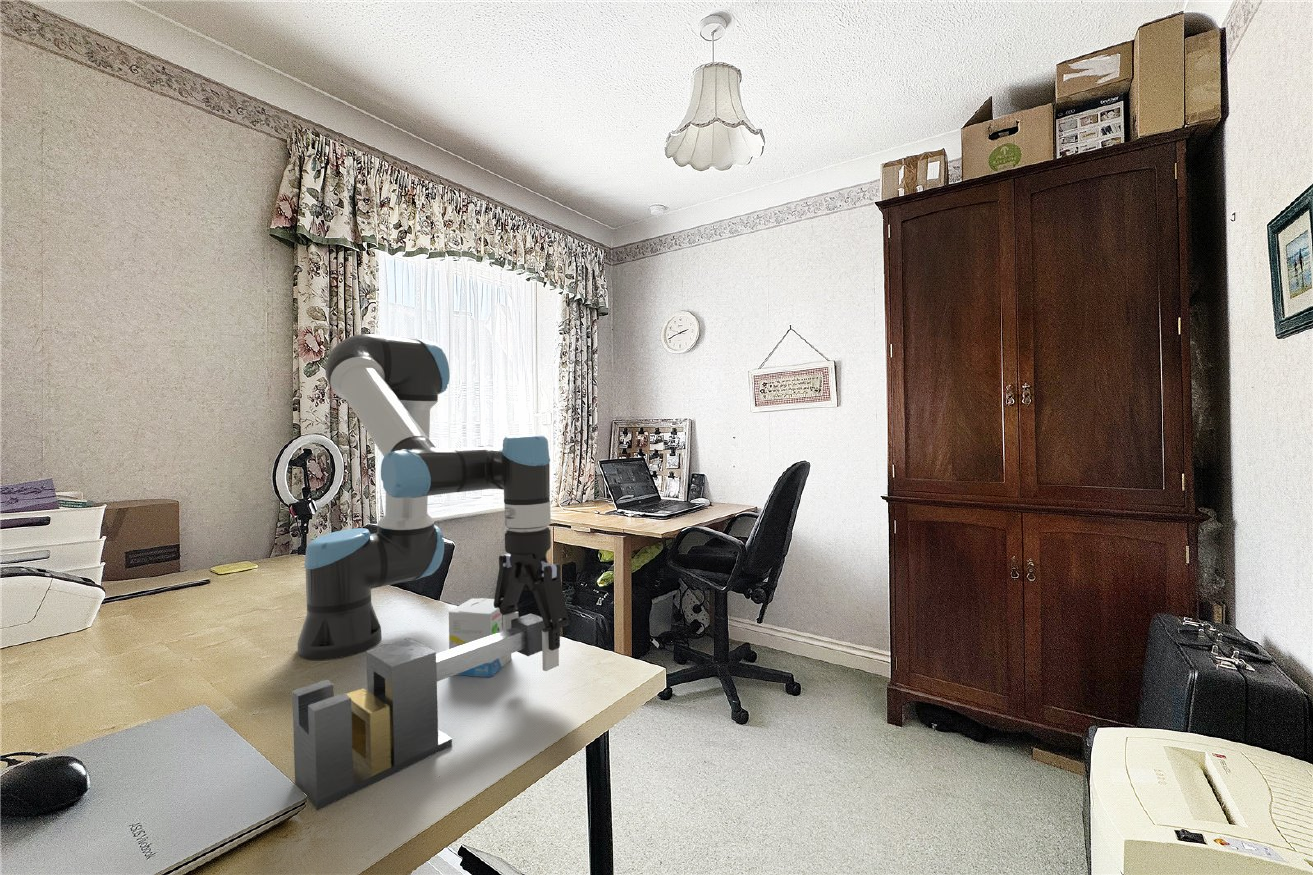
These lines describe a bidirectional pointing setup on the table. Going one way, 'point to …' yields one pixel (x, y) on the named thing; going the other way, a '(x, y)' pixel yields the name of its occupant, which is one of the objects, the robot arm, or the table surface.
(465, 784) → the table surface
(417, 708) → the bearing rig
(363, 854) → the table surface
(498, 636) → the shaft
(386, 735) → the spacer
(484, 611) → the ink box
